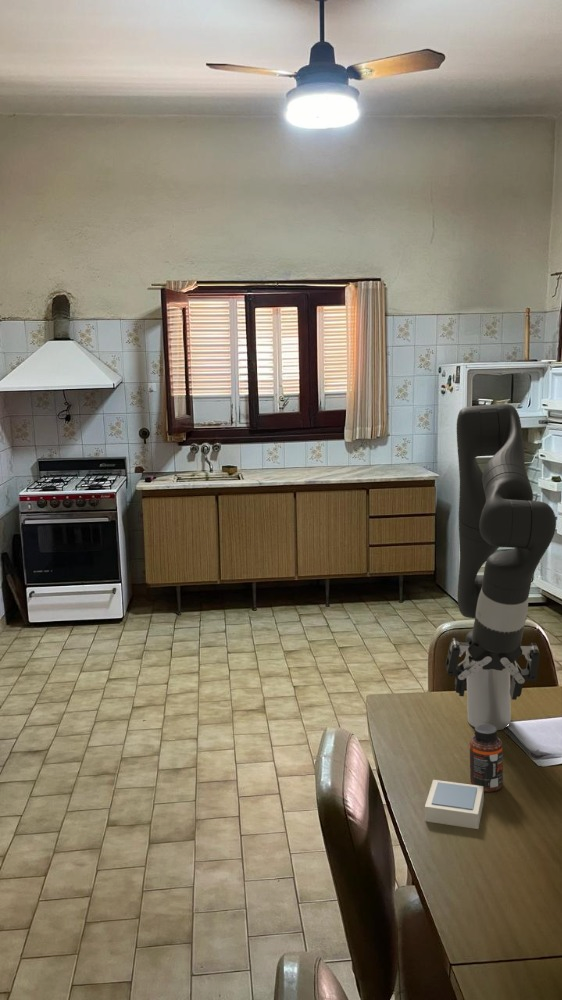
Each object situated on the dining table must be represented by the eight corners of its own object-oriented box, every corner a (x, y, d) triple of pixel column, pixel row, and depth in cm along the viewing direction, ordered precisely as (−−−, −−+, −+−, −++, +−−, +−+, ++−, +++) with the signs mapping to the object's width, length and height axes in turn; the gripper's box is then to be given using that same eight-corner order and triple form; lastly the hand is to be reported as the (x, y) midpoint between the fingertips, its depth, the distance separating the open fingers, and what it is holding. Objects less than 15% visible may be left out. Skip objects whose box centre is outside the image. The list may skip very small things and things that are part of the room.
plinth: (433, 793, 139) (433, 778, 139) (483, 800, 136) (483, 785, 135) (425, 821, 131) (424, 805, 130) (478, 829, 128) (477, 813, 127)
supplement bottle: (504, 794, 137) (503, 736, 136) (471, 792, 139) (469, 735, 137) (501, 777, 143) (500, 721, 141) (469, 775, 144) (468, 720, 143)
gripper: (541, 604, 120) (525, 682, 127) (451, 598, 121) (440, 676, 128) (552, 633, 113) (534, 713, 121) (457, 627, 114) (445, 707, 122)
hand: (486, 694), depth 125 cm, fingers open, 8 cm apart
